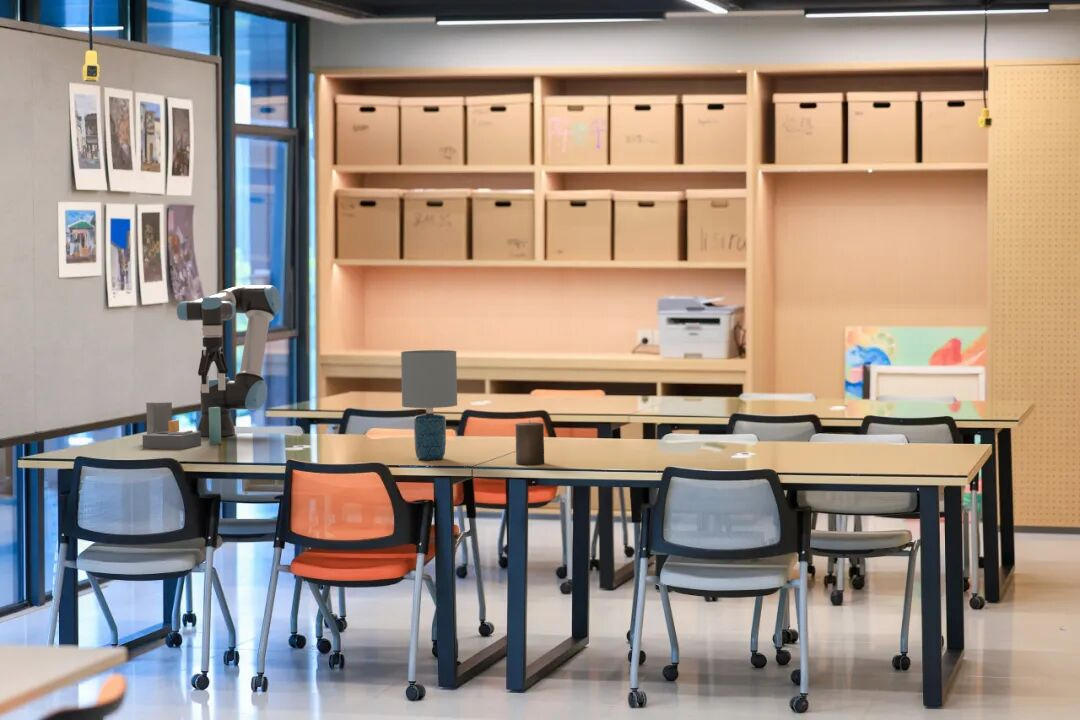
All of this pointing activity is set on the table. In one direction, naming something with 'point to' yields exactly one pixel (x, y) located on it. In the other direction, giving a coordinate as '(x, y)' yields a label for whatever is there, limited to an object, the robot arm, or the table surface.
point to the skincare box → (158, 416)
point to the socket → (171, 440)
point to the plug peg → (214, 425)
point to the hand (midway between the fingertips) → (213, 391)
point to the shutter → (176, 428)
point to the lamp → (429, 396)
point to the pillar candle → (529, 443)
